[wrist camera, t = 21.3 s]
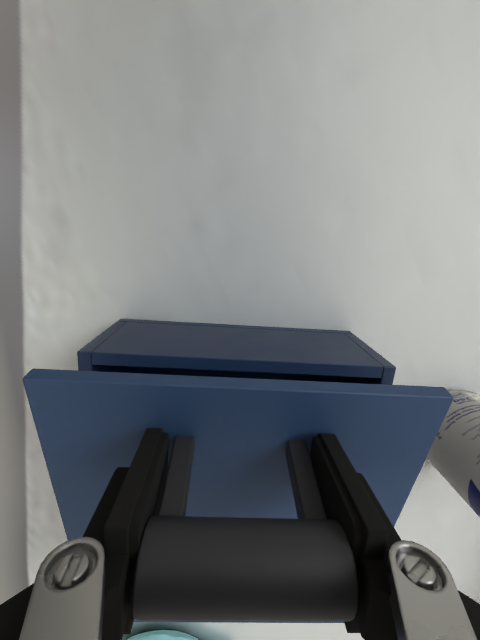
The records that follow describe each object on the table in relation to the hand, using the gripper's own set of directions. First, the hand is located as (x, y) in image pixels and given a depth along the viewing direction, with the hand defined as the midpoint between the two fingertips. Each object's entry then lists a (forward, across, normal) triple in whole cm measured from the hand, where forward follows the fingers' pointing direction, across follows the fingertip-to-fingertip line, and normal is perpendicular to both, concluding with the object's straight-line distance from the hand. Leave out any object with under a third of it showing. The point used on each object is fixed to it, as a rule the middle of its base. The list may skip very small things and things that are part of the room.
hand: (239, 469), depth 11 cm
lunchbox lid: (+2, 0, +5) cm, 5 cm away
